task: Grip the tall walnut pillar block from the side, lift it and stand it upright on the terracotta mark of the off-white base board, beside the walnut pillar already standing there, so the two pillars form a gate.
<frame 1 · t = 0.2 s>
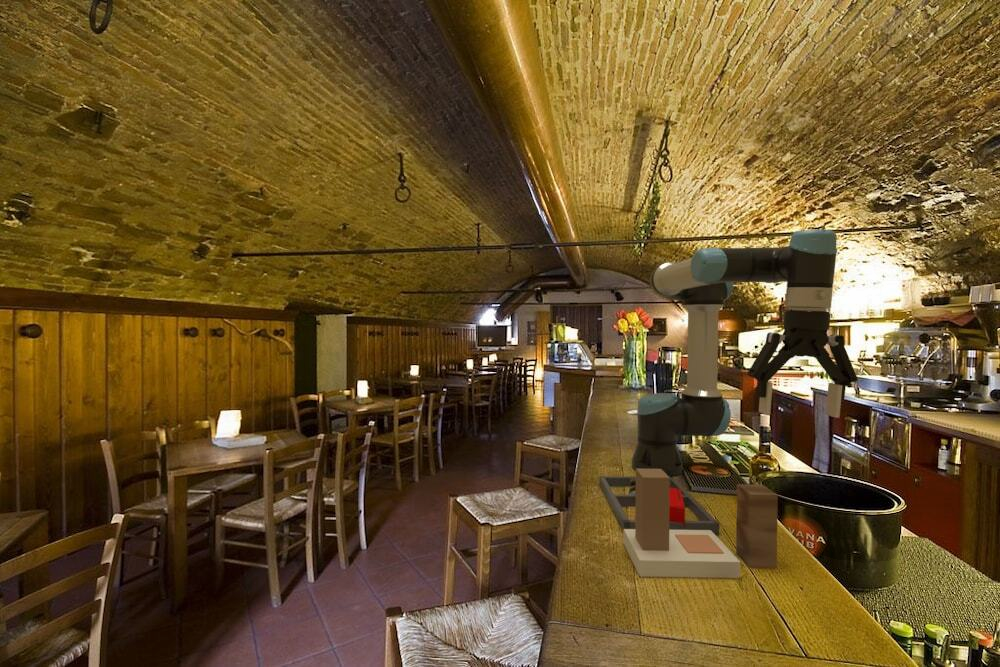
hand: (798, 414, 88), 28 cm above the bar counter, tool pointing down, fingers open, 13 cm apart
chocolate cake: (646, 498, 116), on the bar counter
base board: (677, 559, 85), on the bar counter
french fries container: (660, 519, 103), on the bar counter, touching charcoal tray rim
charcoal tray rim: (651, 506, 109), on the bar counter
walnut pillar: (755, 560, 85), on the bar counter
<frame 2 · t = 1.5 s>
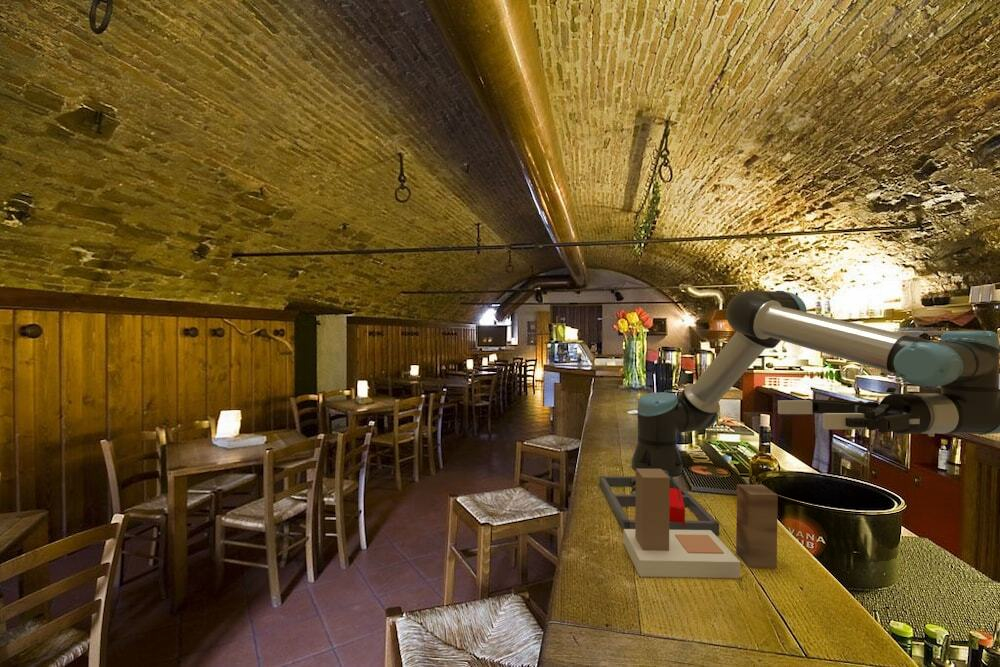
hand: (799, 413, 84), 29 cm above the bar counter, tool horizontal, fingers open, 13 cm apart
chocolate cake: (648, 497, 116), on the bar counter
everything else where it was.
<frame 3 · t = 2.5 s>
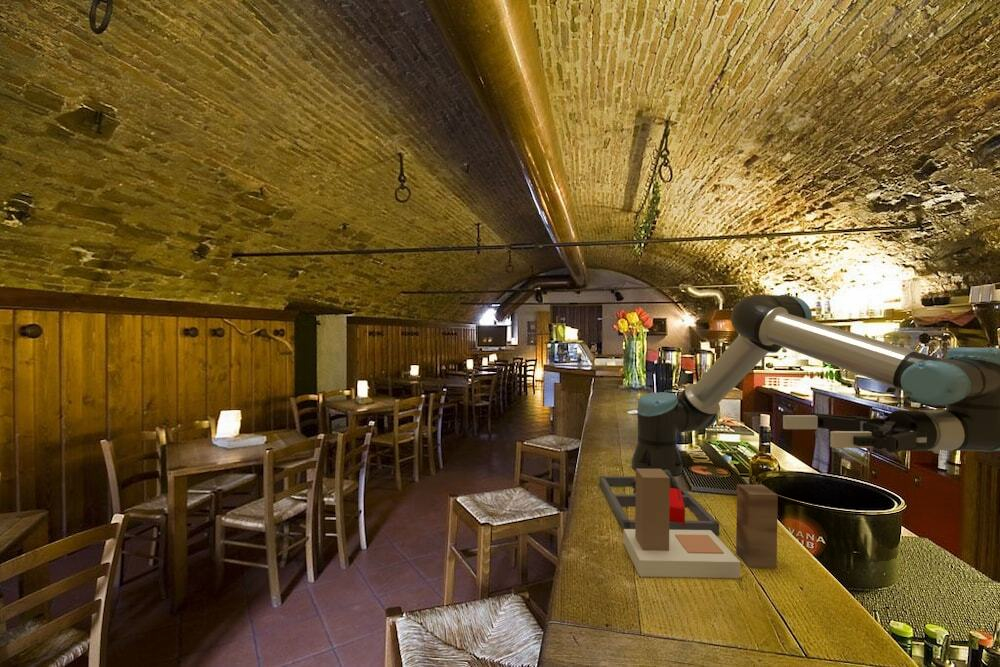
hand: (805, 430, 83), 26 cm above the bar counter, tool horizontal, fingers open, 13 cm apart
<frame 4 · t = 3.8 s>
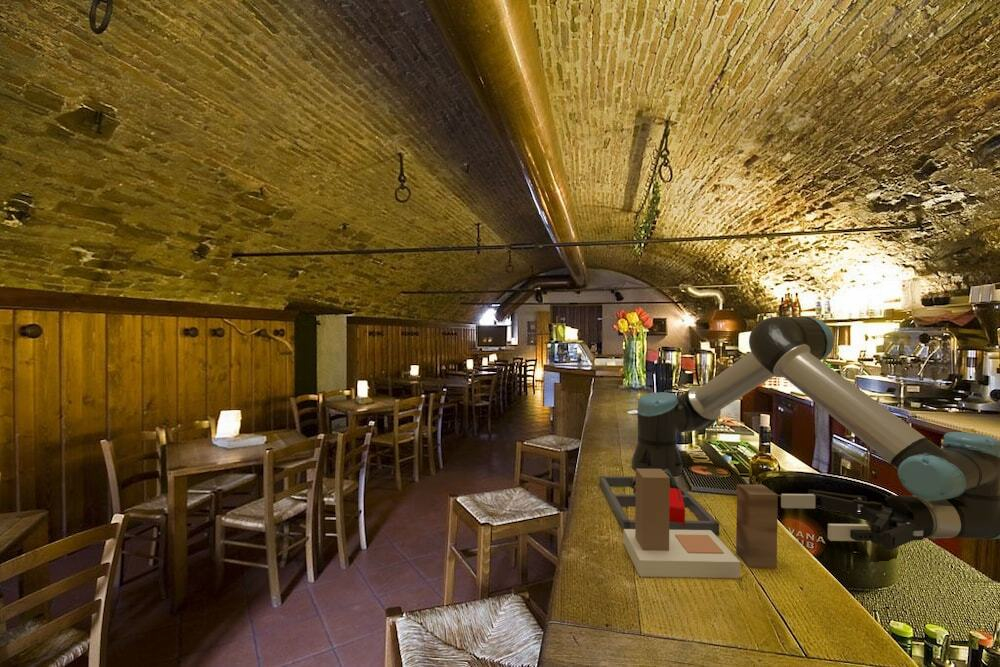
hand: (803, 515, 84), 9 cm above the bar counter, tool horizontal, fingers open, 13 cm apart
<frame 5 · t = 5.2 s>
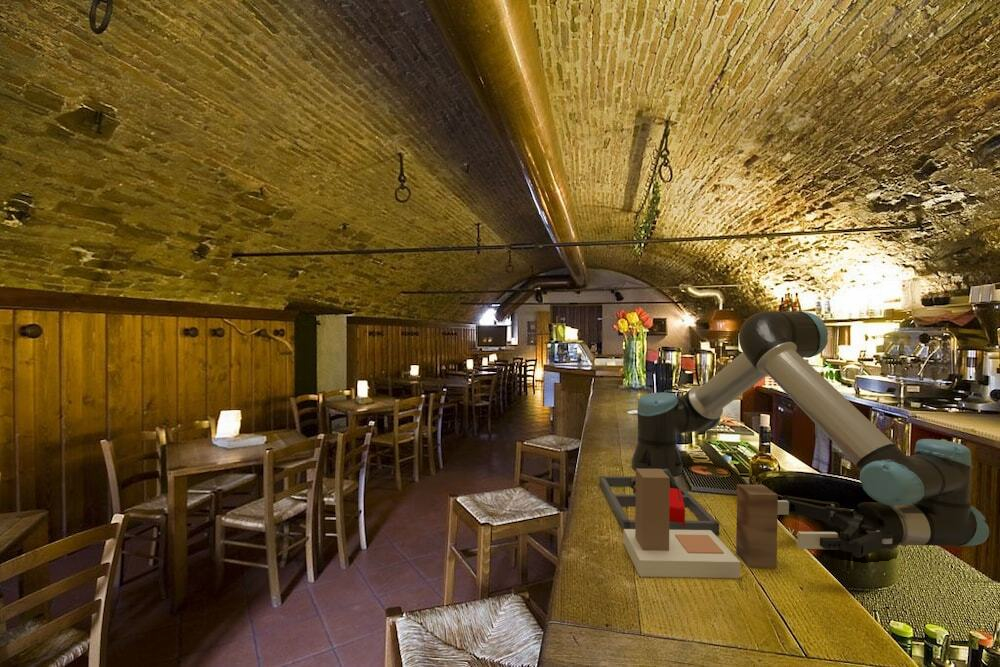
hand: (775, 522, 84), 8 cm above the bar counter, tool horizontal, fingers open, 13 cm apart
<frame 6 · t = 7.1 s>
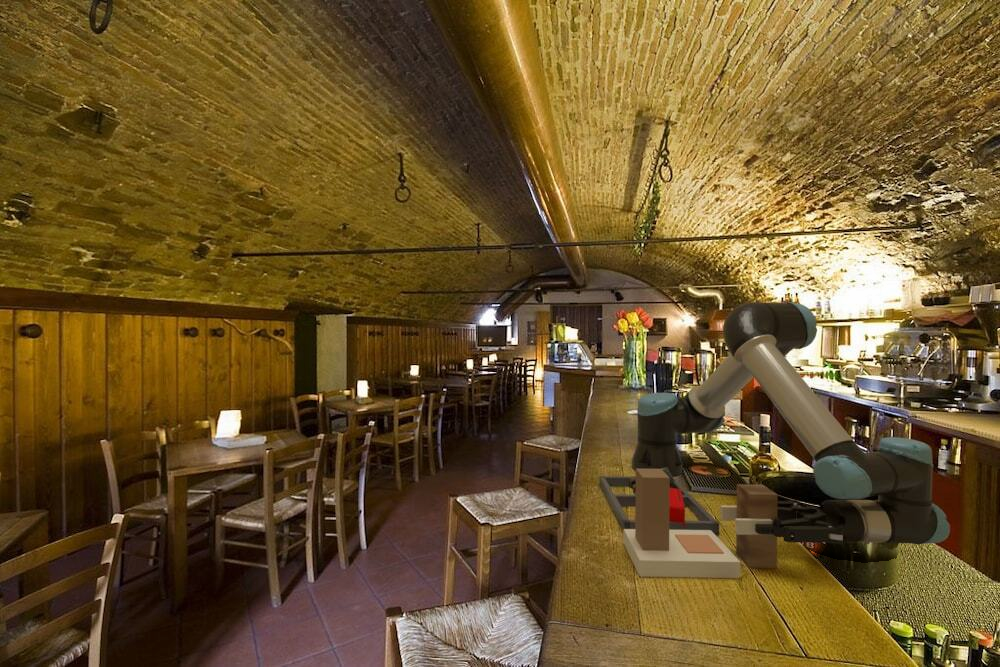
hand: (728, 519, 85), 8 cm above the bar counter, tool horizontal, fingers closed on walnut pillar, 5 cm apart
walnut pillar: (755, 560, 85), on the bar counter, touching gripper
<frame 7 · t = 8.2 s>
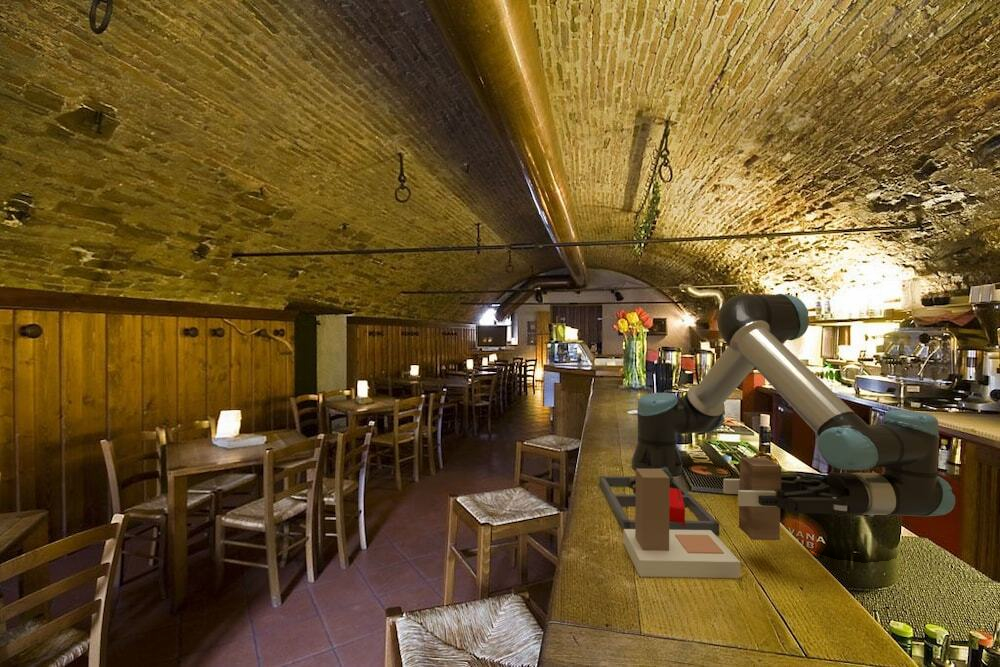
hand: (731, 491, 84), 14 cm above the bar counter, tool horizontal, fingers closed on walnut pillar, 5 cm apart
walnut pillar: (758, 533, 84), point 6 cm above the bar counter, touching gripper
when the fingers open (13 cm above the bar counter, at t = 13.7 s): walnut pillar drops 2 cm, resting on base board.
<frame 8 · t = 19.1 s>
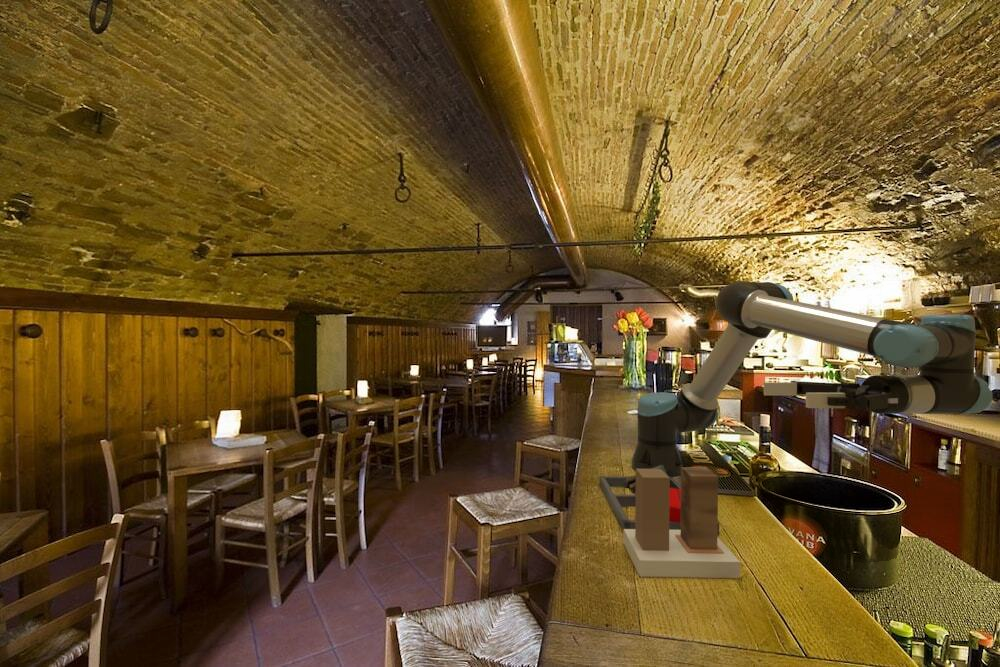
hand: (783, 394, 86), 32 cm above the bar counter, tool horizontal, fingers open, 13 cm apart
walnut pillar: (698, 542, 85), point 3 cm above the bar counter, touching base board
at the end: walnut pillar 0.1 cm from the target spot on the base board, point 3.3 cm above the base board's base; walnut pillar tilted 0°; the gripper is holding nothing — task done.
